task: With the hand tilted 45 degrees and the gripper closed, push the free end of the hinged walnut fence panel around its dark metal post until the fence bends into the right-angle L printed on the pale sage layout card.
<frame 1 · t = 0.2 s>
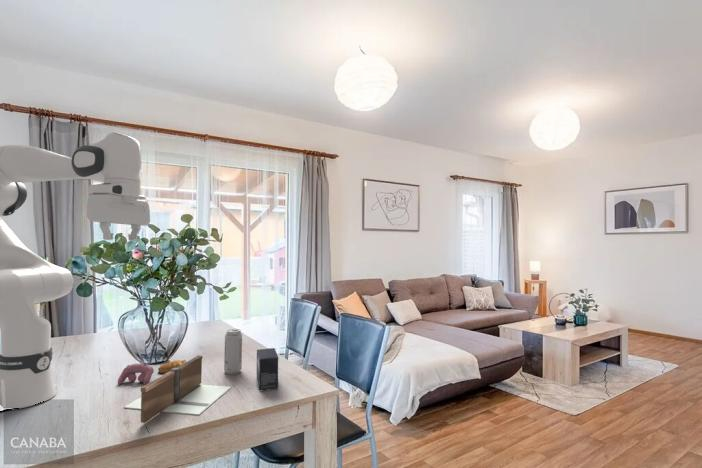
hand: (120, 240, 106), 48 cm above the table, tool pointing down, fingers open, 8 cm apart
pastry: (174, 372, 136), on the table
fence panel: (158, 395, 103), point 5 cm above the table, hinge at 0.0°
video game controller: (136, 383, 125), on the table
small box: (266, 384, 126), on the table
layout card: (181, 397, 114), on the table
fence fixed: (174, 403, 110), resting on layout card
energy drink can: (232, 372, 136), on the table
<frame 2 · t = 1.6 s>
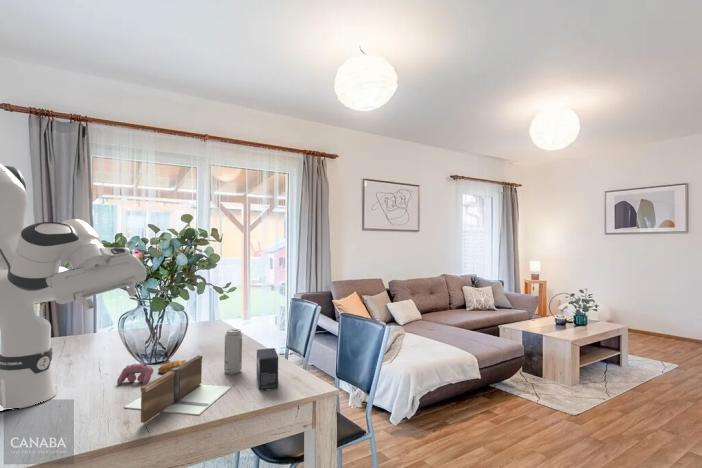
hand: (112, 300, 93), 33 cm above the table, tool tilted 55°, fingers open, 8 cm apart
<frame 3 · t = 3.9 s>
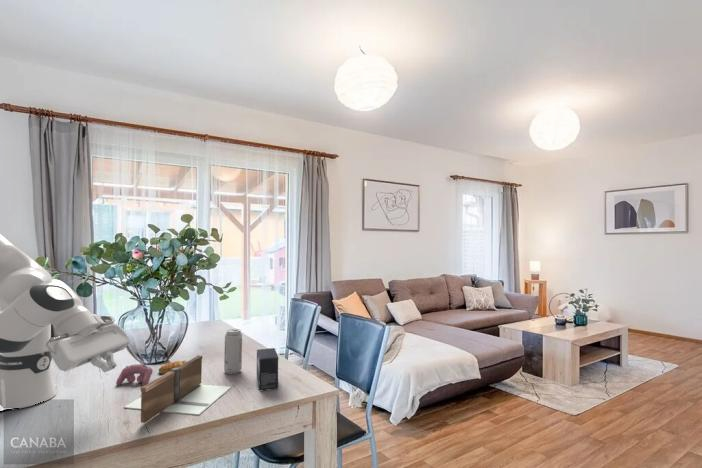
hand: (110, 369, 100), 13 cm above the table, tool tilted 45°, fingers closed
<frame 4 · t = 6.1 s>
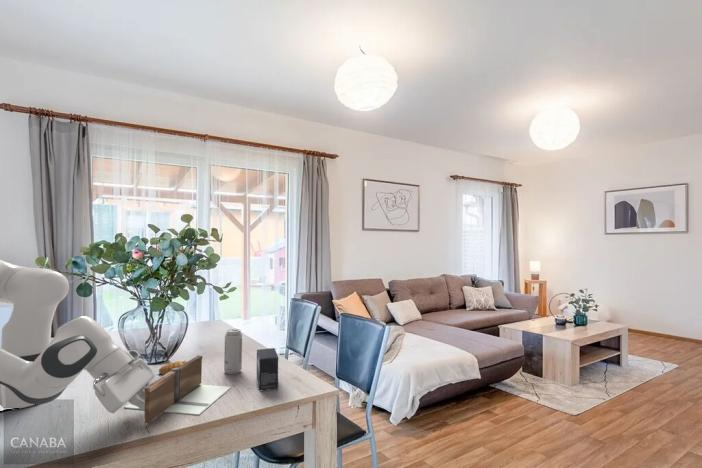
hand: (147, 406, 100), 4 cm above the table, tool tilted 40°, fingers closed
fence panel: (160, 395, 103), point 5 cm above the table, hinge at 4.7°, touching gripper
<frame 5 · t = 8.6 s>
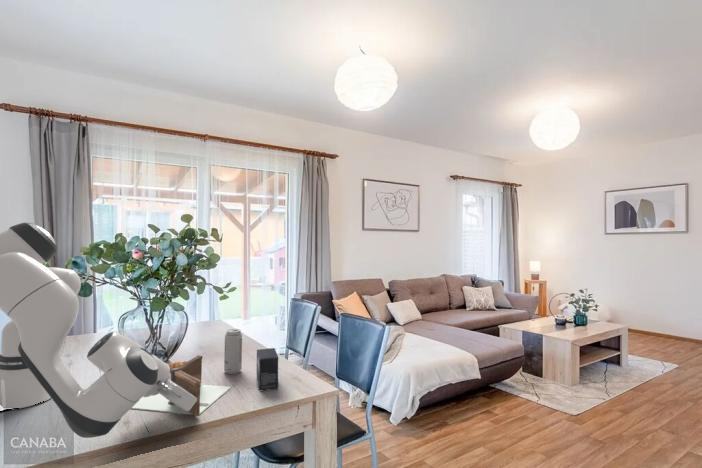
hand: (189, 402, 102), 4 cm above the table, tool tilted 45°, fingers closed, pressing on fence panel
fence panel: (187, 392, 105), point 5 cm above the table, hinge at 58.5°, touching gripper
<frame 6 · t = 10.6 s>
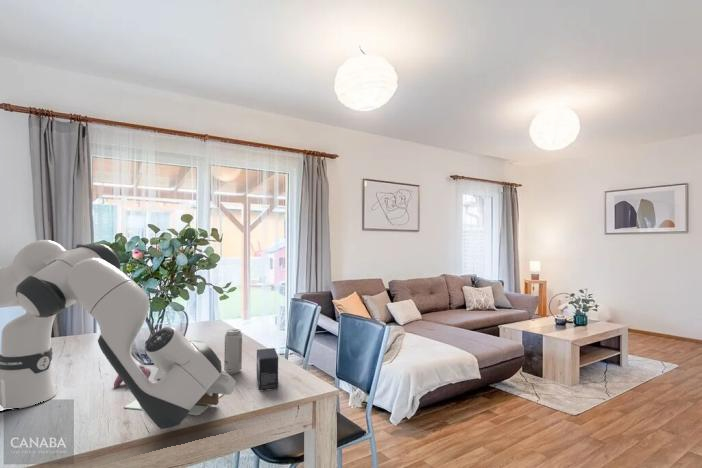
hand: (208, 393, 107), 4 cm above the table, tool tilted 45°, fingers closed, pressing on fence panel
fence panel: (198, 387, 109), point 5 cm above the table, hinge at 90.3°, touching gripper
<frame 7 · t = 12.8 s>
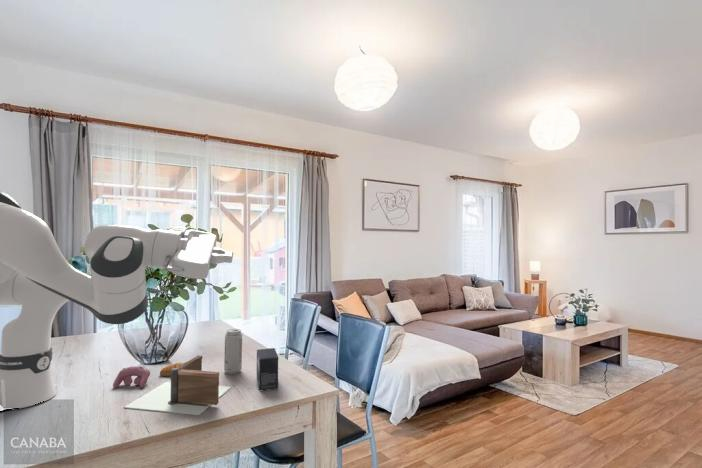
hand: (232, 257, 91), 44 cm above the table, tool horizontal, fingers closed
fence panel: (198, 387, 109), point 5 cm above the table, hinge at 90.3°
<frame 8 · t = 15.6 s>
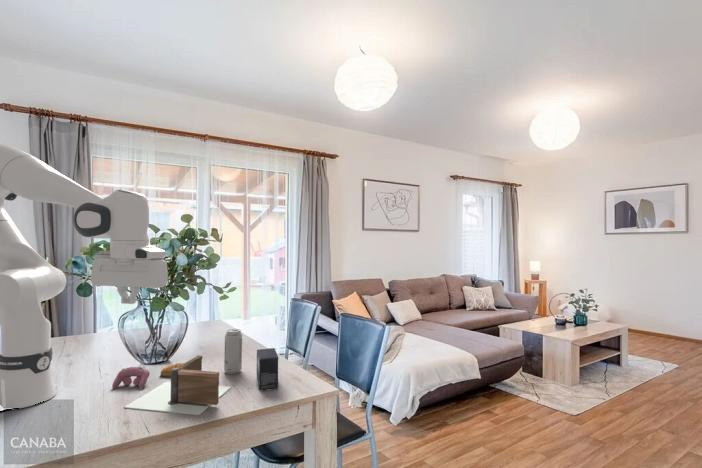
hand: (128, 303, 99), 31 cm above the table, tool pointing down, fingers closed
at the end: fence panel at +90° (first picture: +0°); video game controller moved 3.4 cm from its start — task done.
